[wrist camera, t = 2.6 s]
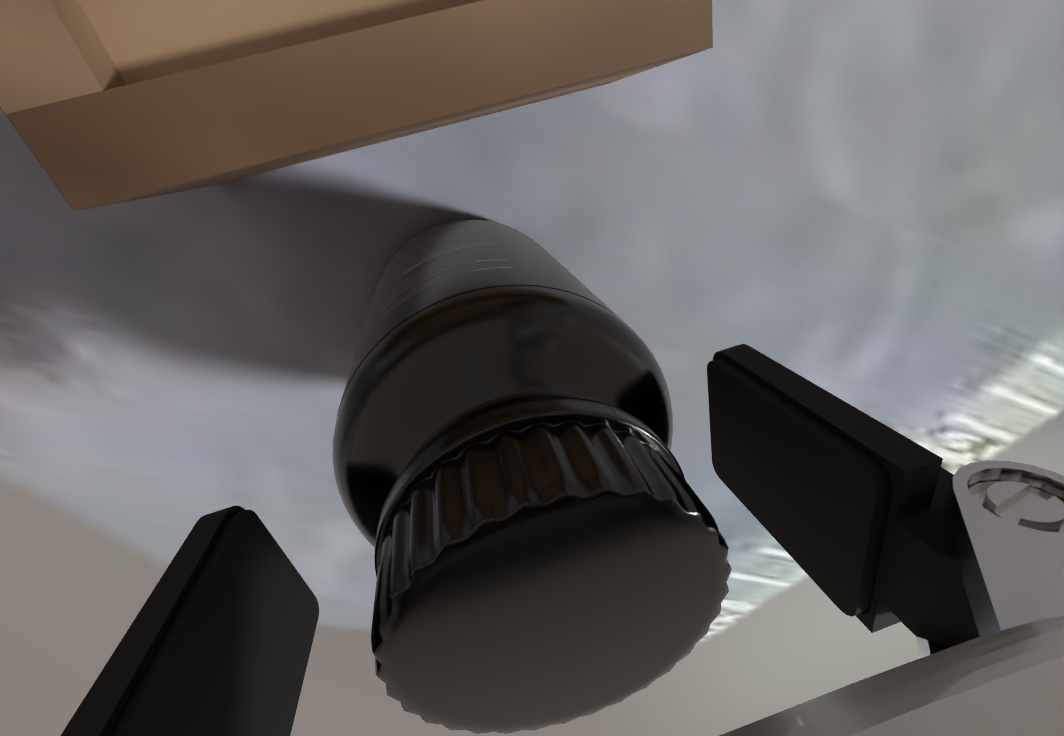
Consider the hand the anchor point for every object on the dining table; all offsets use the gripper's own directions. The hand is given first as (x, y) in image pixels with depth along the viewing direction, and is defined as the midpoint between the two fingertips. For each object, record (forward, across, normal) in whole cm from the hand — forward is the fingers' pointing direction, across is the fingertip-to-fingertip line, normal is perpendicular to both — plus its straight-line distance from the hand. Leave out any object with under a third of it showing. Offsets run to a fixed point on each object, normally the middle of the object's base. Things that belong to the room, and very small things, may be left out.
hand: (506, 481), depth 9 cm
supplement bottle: (+8, 0, -1) cm, 9 cm away
